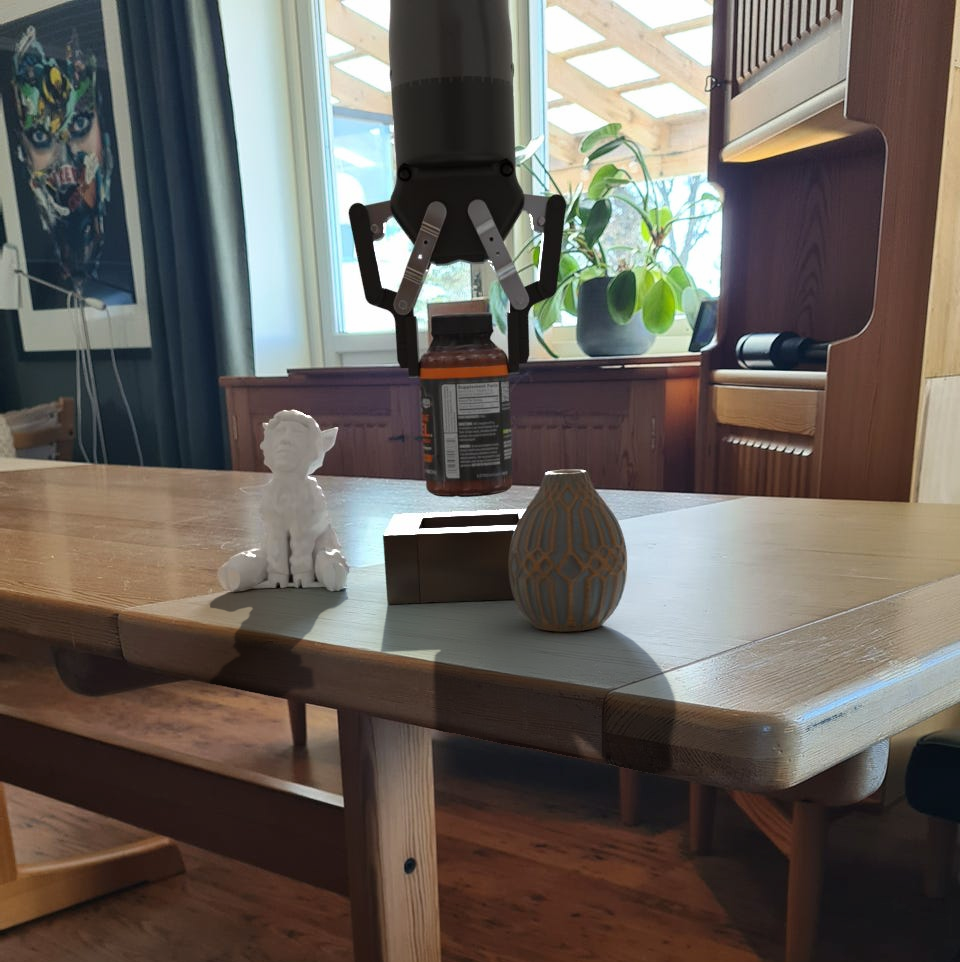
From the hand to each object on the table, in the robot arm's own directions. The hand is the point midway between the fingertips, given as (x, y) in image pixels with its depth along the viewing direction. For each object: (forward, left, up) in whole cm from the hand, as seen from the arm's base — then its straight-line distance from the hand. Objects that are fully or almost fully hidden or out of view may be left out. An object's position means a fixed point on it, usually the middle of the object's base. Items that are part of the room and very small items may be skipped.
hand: (464, 374), depth 85 cm
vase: (-6, +15, -14) cm, 21 cm away
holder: (0, 0, -14) cm, 14 cm away
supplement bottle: (0, 0, -8) cm, 8 cm away
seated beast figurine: (+13, -5, -14) cm, 20 cm away
